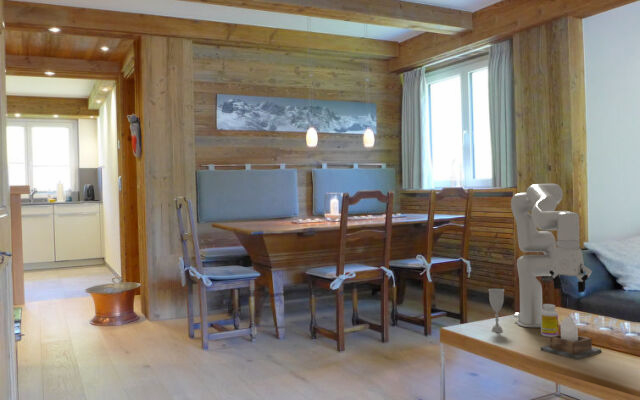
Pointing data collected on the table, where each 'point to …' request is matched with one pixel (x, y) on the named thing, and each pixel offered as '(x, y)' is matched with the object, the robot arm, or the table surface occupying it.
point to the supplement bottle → (549, 321)
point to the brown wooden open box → (571, 347)
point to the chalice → (496, 305)
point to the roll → (569, 330)
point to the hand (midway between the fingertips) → (569, 290)
